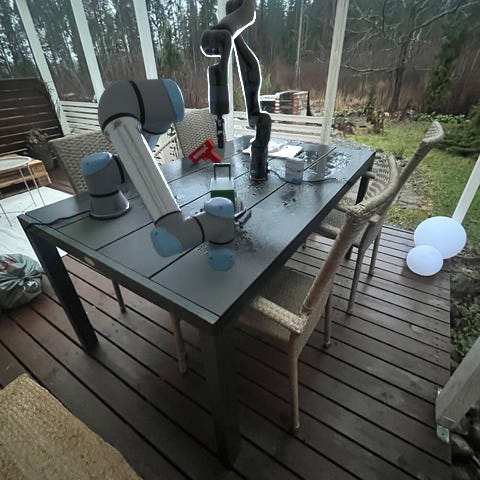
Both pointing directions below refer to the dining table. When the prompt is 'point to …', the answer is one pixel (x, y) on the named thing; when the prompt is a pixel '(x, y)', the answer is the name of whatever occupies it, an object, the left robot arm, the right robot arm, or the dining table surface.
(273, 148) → the relief map
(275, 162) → the dining table surface
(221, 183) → the lid
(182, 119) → the left robot arm
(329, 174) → the dining table surface
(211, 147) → the toy gun
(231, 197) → the chest
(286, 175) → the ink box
